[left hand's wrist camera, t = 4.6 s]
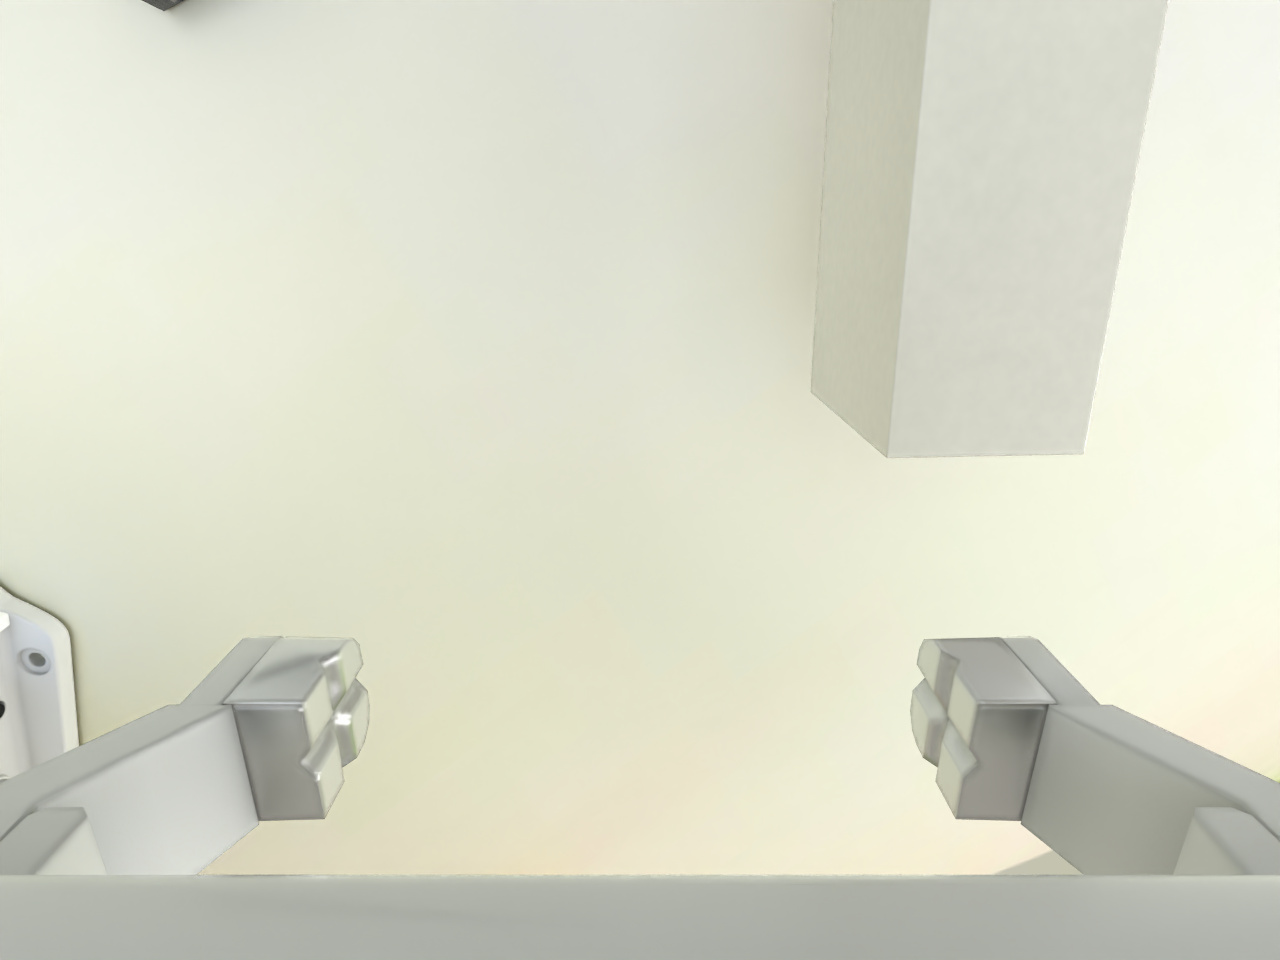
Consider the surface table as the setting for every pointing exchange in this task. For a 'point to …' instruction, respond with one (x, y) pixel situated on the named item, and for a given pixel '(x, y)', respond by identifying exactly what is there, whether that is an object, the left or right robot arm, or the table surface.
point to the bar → (976, 216)
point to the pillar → (162, 3)
